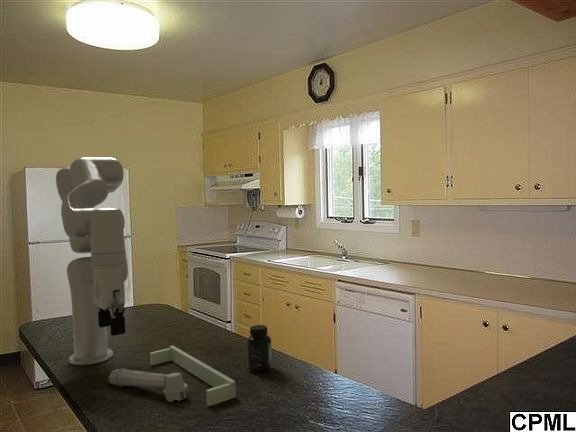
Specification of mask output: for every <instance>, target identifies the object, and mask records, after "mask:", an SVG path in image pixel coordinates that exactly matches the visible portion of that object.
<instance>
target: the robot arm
mask: <svg viewBox="0 0 576 432" xmlns="http://www.w3.org/2000/svg"><path fill="white" fill-rule="evenodd" d="M124 173H125V171H124V167H123V164H121V162H120V161H119V160H118V159H117V158H115V157H97V156H95V157H93V156H92V157H91V156H90V157H89V156H86V157H85V156H83V157H80V158H79V157H78V158H77V159H75V160H73V162H71V165H70V166H68V167H63V168H60V169H59V170H58V171H57V172H56V174H55V182H56V183H55V184H56V189H57V193H58V195H59V198H60V200H61V202H62V203H61V207H60V215H61V222H62V226H63V230H64V233H65V235H67V236H68V239H69V245H70V248H71V251H73V252H74V253H76V254H90V255H91V256H83V257H78V258H75V259H72V260H71V261H70V262H69V263H68V265H67V267H66V275H67V279H68V285H69V290H70V295H71V296H70V298H71V313H72V314H71V317H72V331H73V333H72V336H73V351H74V352H73V353H72V354H71V355H70V356H69V357H68V362H69V364H71V365H76V366H87V365H89V366H90V365H95V364H98V363H103V362H105V361H107V360H110V359H111V358H112V357H113V356H114V351H113V349H111V348H108V330H107V329H108V327H110V335H111V336H112V337H115V336H119V335H123V334H125V333H126V313H125V310H126V308H125V304H126V293H125V291H126V290H125V282H127V280H128V278H129V265H128V258H127V250H126V241H125V232H124V230H125V225H126V222H125V214H124V213H123V211H122V210H121V209H120V208H116V207H97V206H98V205H101V204H102V203H104V201H105V200H107V198H108V195H109V194H111V193H114V192H115V191H116V190H117V189H119V188H120V186H121V185H122V184H123V182H124V176H125V175H124Z"/></svg>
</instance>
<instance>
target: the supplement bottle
mask: <svg viewBox="0 0 576 432" xmlns="http://www.w3.org/2000/svg"><path fill="white" fill-rule="evenodd" d="M249 334H250V336H248V338H247V340H246V352H247V353H246V354H247V355H246V356H247V357H246V358H247V370H248V371H249V372H250V373H253V374H265V373H268V372H270V371H271V370H272V368H273V357H272V354H273V353H272V351H273V350H272V338H271V337H270V335H268V334H269V333H268V326H267V325H264V324H256V325H251V326H250V328H249Z"/></svg>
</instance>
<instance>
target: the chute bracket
mask: <svg viewBox="0 0 576 432" xmlns="http://www.w3.org/2000/svg"><path fill="white" fill-rule="evenodd" d="M149 361H150V362H149V363H150V366H155V365H159V364H163V363H166V362H173V363H174V364H176V365H178V366H179V367H181V368H182V369H184V370H186V371H187V372H189V373H190V374H192V375H194V376H195V377H197V378H198V379H200V380H201V381H203V382H204V383H206V384H208V385H210V388H207V389H205V396H206V406H207V407H210V406H214V405H217V404H220V403H222V402H226V401H229V400H231V399H235V398H236V397H237V394H236V393H237V392H236V380H234V379H233V378H230V377H229V376H227V375H225V374H224V373H221V371H219V370H216V369H214V368H213V367H211V366H210V365H208V364H206V363H204V362H202V361H201V360H199V359H197V358H196V357H194V356H192V355H190V354H189V353H187V352H185V351H184V350H182V349H180V348H178V347H176V346H174V345H170V346H169V347H168V348H165V349H160V350H156V351H153V352H152V351H151V352H149Z"/></svg>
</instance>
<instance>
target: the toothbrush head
mask: <svg viewBox="0 0 576 432" xmlns="http://www.w3.org/2000/svg"><path fill="white" fill-rule="evenodd" d="M107 383H108V384H110V385H114V386H119V387H123V386H124V387H125V386H127V387H131V386H132V387H146V388H147V387H148V388H162V393H164V396H165V397H164V398H165V400H167V402H169V403H170V402H171V403H172V402H174V401H178V402H179V401H182V400H184V399H187V398H188V391H187V390H188V389H189V385H188V383H185V382H184V379H183V375H182V373H181V372H172V373H169V374H167V373H166V374H165V373H160V372H159V373H157V372H148V371H141V370H132V369H131V370H130V369H127V368H125V367H123V368H117V369H116V368H115V369H111V370H110V371H109V372H108V375H107Z"/></svg>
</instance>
